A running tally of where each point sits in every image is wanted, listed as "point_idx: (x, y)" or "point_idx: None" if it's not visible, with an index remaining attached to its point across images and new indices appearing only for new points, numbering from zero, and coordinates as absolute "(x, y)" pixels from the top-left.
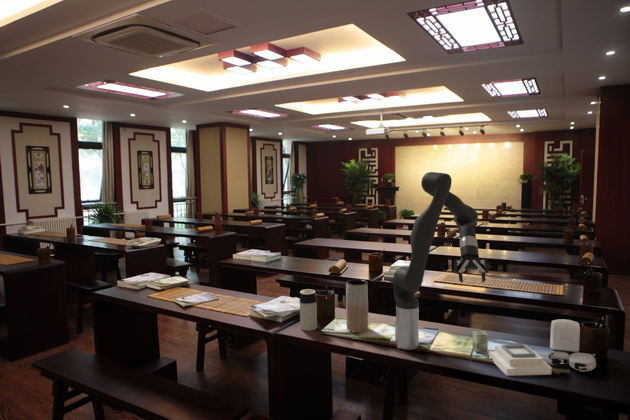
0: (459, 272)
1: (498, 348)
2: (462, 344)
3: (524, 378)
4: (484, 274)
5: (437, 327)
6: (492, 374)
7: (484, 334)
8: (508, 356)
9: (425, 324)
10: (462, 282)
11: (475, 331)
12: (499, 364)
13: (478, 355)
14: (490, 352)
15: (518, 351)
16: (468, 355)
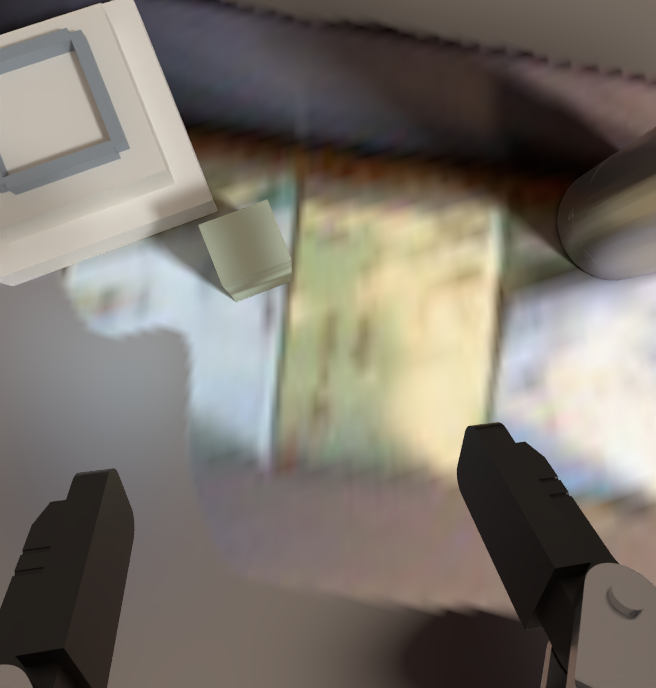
0: (623, 569)
1: (150, 135)
2: (343, 324)
3: None
4: (6, 633)
5: None
6: (204, 16)
7: (218, 223)
8: (104, 39)
9: None
10: (462, 459)
11: (274, 260)
12: (164, 77)
13: None
14: (199, 169)
15: (42, 121)
16: (310, 191)
